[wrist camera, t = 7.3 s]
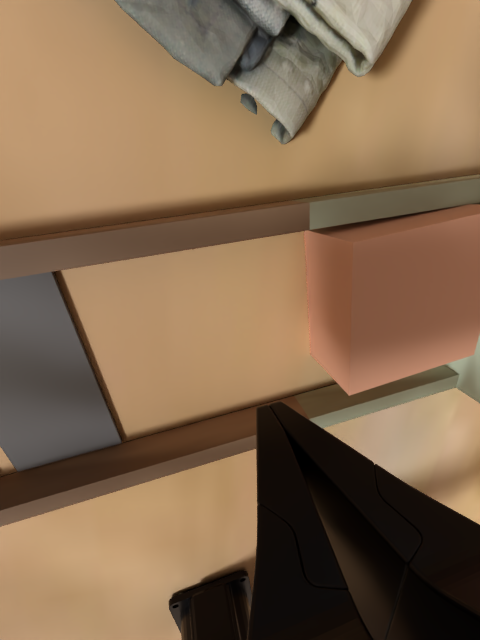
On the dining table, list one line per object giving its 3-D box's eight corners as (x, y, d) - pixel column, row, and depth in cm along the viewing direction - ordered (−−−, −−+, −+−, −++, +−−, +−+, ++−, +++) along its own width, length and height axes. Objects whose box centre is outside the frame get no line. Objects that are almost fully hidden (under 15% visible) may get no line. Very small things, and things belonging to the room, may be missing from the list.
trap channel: (452, 362, 20) (516, 399, 16) (-131, 529, 14) (-230, 647, 10) (504, 170, 15) (613, 164, 11) (-408, 297, 8) (-812, 374, 5)
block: (411, 322, 18) (474, 354, 14) (308, 351, 17) (349, 395, 13) (427, 202, 15) (512, 206, 11) (301, 228, 13) (353, 242, 10)
